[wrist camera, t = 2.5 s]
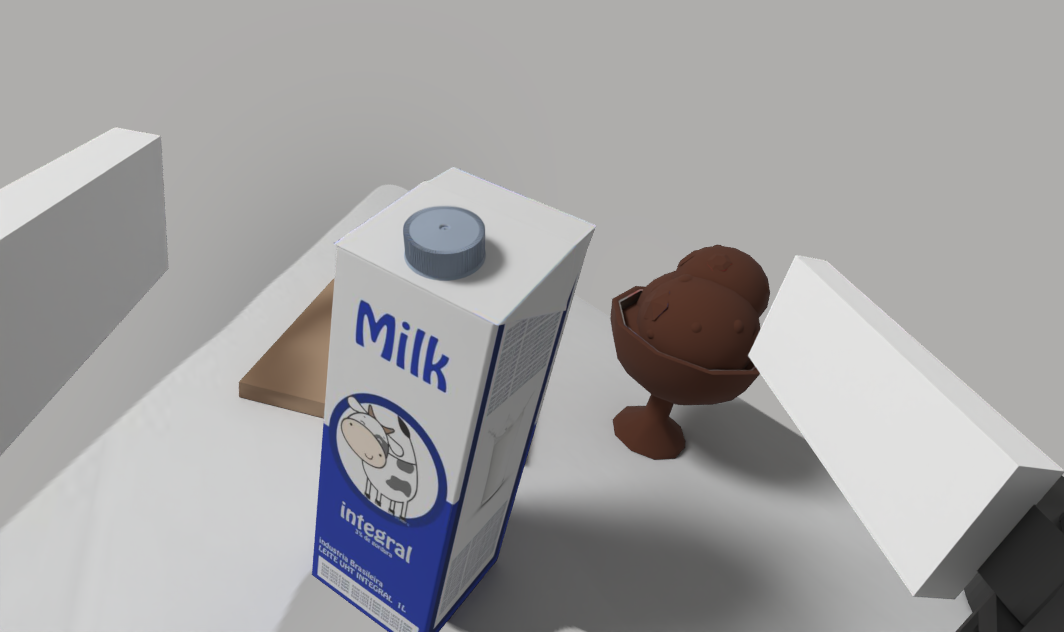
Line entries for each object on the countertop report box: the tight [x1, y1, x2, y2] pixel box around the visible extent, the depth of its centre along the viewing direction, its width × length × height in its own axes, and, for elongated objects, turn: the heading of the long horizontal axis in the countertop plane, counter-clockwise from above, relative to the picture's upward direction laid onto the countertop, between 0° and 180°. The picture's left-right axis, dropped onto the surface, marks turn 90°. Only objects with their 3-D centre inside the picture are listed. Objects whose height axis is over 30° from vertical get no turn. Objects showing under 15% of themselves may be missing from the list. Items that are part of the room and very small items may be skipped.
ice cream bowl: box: [611, 245, 770, 460], centre depth 43 cm, size 11×11×15 cm
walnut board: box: [239, 278, 335, 418], centre depth 48 cm, size 18×18×1 cm
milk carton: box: [312, 167, 596, 632], centre depth 28 cm, size 7×7×20 cm
